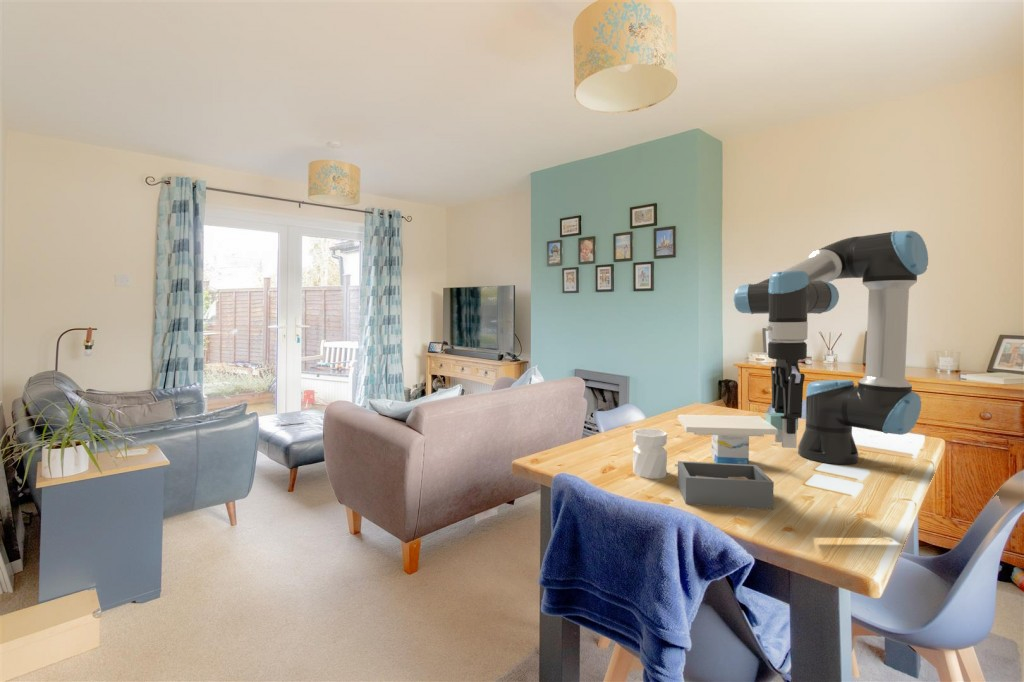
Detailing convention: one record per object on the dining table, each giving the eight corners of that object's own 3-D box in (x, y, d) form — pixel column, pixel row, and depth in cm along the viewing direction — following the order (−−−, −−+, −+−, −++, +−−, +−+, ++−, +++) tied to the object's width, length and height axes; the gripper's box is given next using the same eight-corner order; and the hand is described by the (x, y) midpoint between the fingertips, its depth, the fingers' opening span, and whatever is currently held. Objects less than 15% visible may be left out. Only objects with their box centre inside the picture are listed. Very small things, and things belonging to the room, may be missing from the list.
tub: (755, 493, 116) (756, 464, 115) (772, 514, 104) (773, 482, 104) (677, 488, 119) (677, 461, 119) (685, 508, 107) (686, 477, 107)
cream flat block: (784, 425, 114) (784, 409, 114) (806, 440, 102) (806, 421, 102) (677, 423, 119) (678, 407, 119) (686, 436, 107) (686, 419, 106)
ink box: (749, 467, 135) (750, 426, 135) (716, 465, 137) (717, 425, 136) (741, 458, 144) (741, 420, 143) (710, 457, 145) (711, 418, 145)
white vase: (657, 470, 133) (657, 427, 133) (672, 481, 125) (673, 435, 124) (627, 472, 132) (627, 429, 131) (641, 483, 123) (641, 437, 122)
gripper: (757, 338, 116) (756, 434, 117) (782, 344, 100) (780, 455, 101) (791, 338, 114) (789, 435, 116) (822, 343, 98) (819, 456, 100)
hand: (785, 444), depth 109 cm, fingers closed on cream flat block, 3 cm apart
